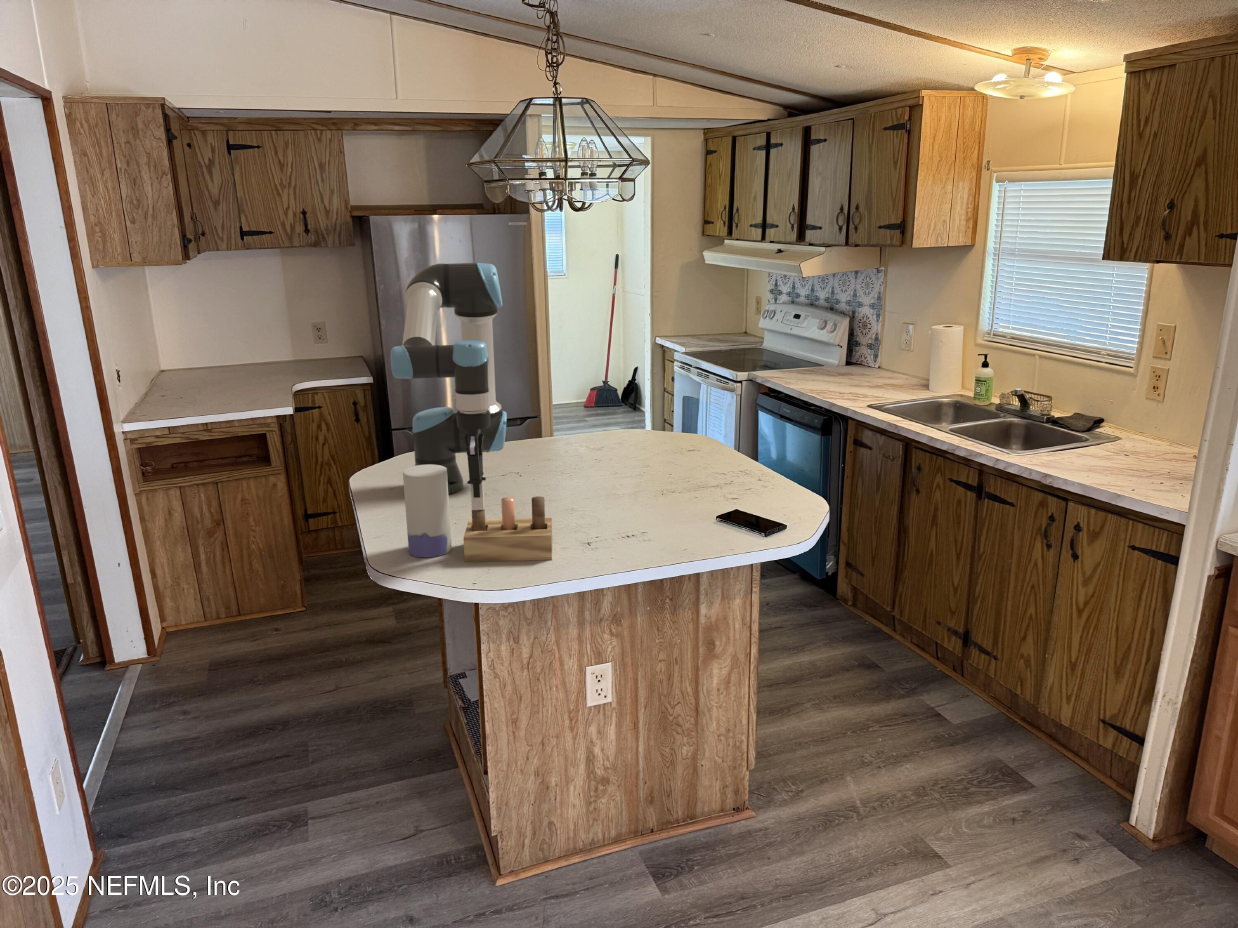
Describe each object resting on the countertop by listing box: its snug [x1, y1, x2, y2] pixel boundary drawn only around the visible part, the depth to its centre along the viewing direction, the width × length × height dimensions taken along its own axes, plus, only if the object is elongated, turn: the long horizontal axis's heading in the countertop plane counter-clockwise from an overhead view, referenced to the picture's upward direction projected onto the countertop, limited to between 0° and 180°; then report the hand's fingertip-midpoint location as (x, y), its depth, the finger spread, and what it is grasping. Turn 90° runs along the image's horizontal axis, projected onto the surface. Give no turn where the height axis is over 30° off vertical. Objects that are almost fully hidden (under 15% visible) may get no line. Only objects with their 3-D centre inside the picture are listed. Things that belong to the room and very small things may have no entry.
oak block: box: [462, 517, 553, 563], centre depth 204 cm, size 12×20×6 cm, turn 94°
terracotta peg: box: [501, 496, 516, 530], centre depth 202 cm, size 3×3×8 cm
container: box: [402, 465, 453, 558], centre depth 203 cm, size 10×10×20 cm
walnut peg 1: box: [471, 508, 486, 531], centre depth 202 cm, size 3×3×8 cm
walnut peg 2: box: [531, 496, 546, 530], centre depth 203 cm, size 3×3×8 cm
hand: (478, 509), depth 201 cm, fingers closed
